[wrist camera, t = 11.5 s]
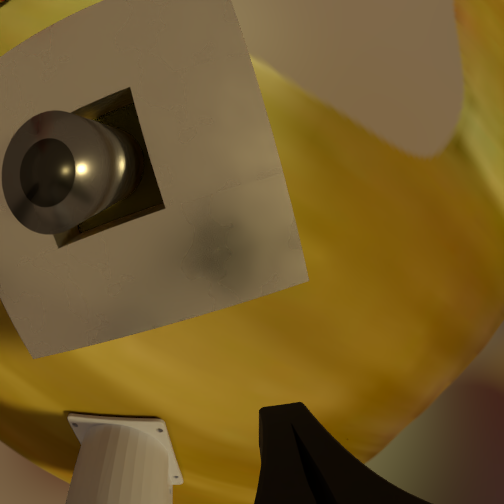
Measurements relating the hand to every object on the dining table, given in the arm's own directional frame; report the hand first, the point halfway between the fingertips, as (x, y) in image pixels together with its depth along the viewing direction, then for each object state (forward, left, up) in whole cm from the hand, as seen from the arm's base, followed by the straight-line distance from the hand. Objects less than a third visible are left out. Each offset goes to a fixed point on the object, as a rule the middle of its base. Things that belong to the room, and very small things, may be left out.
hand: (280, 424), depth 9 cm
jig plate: (+8, +7, -9) cm, 14 cm away
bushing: (+8, +7, -9) cm, 14 cm away
